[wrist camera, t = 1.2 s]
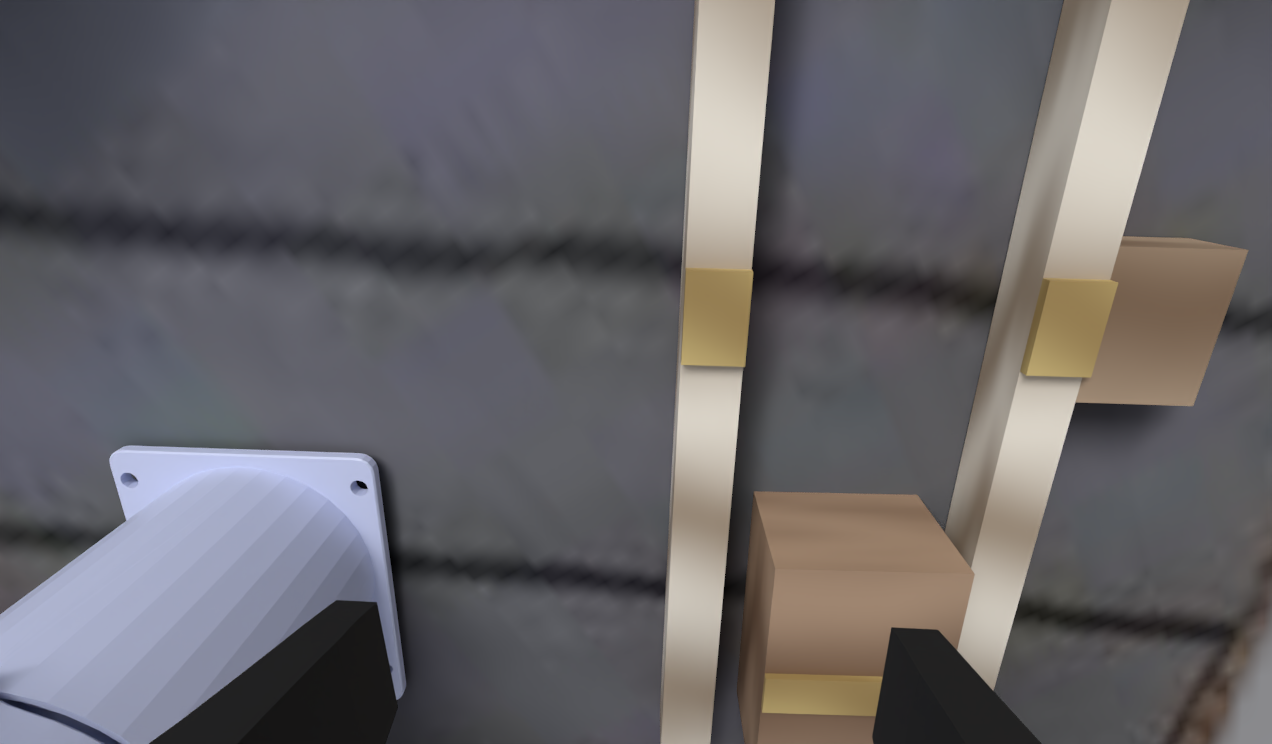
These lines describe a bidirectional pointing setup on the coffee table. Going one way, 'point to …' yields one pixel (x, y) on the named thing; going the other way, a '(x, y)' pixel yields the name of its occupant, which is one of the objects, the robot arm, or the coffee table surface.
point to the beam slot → (1020, 330)
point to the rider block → (837, 608)
